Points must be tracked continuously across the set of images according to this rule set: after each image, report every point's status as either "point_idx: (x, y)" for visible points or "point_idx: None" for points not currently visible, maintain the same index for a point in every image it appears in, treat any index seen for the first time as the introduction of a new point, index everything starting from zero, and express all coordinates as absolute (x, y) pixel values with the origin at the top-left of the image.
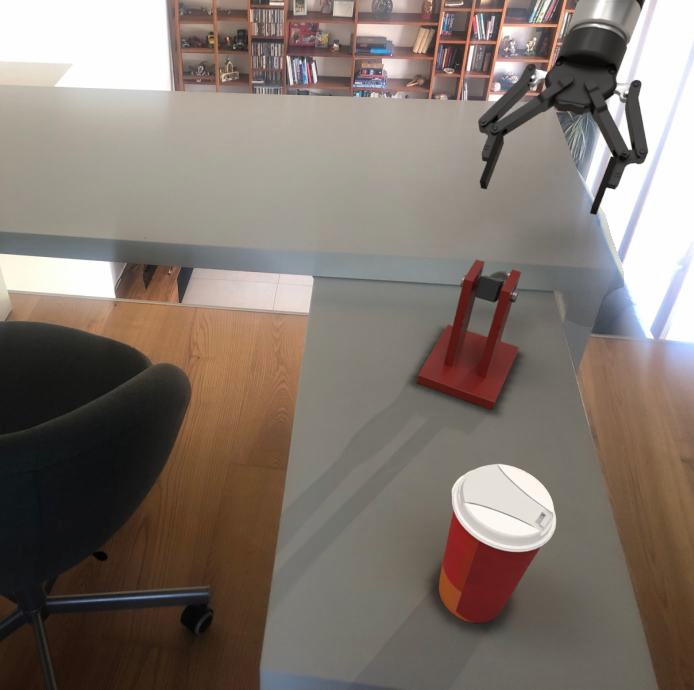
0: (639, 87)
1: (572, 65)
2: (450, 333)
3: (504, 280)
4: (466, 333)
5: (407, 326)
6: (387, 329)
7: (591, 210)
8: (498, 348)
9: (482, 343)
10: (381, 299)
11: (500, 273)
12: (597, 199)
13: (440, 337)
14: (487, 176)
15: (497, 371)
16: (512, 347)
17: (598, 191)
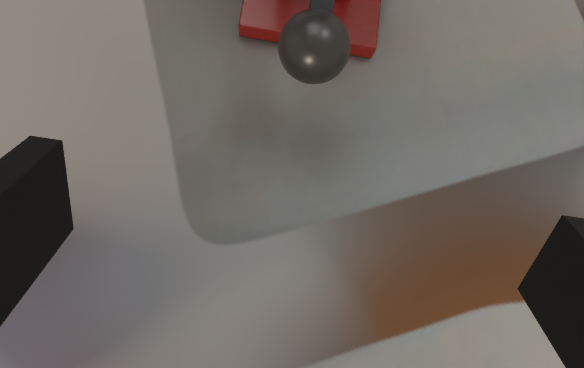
0: None
1: None
2: (365, 24)
3: (314, 11)
4: None
5: (438, 53)
6: (467, 34)
7: (65, 192)
8: (275, 8)
9: None
10: (509, 115)
11: (329, 27)
12: (26, 155)
13: (379, 7)
14: (579, 233)
15: None
16: (251, 19)
17: (10, 180)
